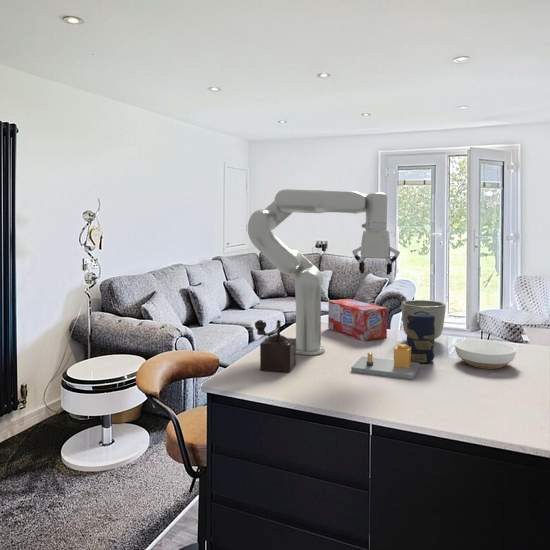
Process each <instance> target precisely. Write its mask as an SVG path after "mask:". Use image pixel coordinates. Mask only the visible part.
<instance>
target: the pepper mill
mask: <svg viewBox="0 0 550 550" xmlns="http://www.w3.org/2000/svg"><path fill="white" fill-rule="evenodd" d="M254 327H255V329H256V330H257V332H256V334H257V335H258V336H268V337H266V338H264V340H263V341H262V342H260V343H259V349H260V350H259V351H260V352H259V353H260V354H259V356H260V361H259V363H260V364H259V365H260V367H259V368H260V369H259V370H260V371H263V372H271V373H272V372H273V373H280V374H281V373H282V374H283V373H284V374H289V373H291V372H292V371H293V369H294V368H295V366H296V364H297V358H296V357H297V354H296V339H295V338H293V337H291V338H290V337H286V336H284V335H281V332H280V331H281V330H280V329H281V320H280V319H277V320H276V327H275V329H274V331H272V332H269V333H268V332H266V331H265V329H266V328H267V322H266V321H265V320H263V319H259V320H257V321H255V322H254Z"/></svg>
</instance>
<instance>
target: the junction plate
mask: <svg viewBox="0 0 550 550" xmlns="http://www.w3.org/2000/svg"><path fill="white" fill-rule="evenodd" d="M367 361H368V356H363V355H362V356H361V357H360V358H359V359H358V360H357V361H355V363H354V364H353V365H352V366H351V368H350V369H351V370H350V372H352V373H359V374H366V375H367V374H368V375H374V376H383V377H388V378H389V377H390V378H398V379H399V378H400V379H404V380H405V379H406V380H414V379H415V377H416V375H417V373H418V371H419V369H420V366H421V365H420V364H421V363H418V362H413V361H411V365H410V366H409V368H404V367H396V366H394V359H388V358H380V357H372V362H373V366H368V365H367Z"/></svg>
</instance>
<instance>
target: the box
mask: <svg viewBox="0 0 550 550" xmlns="http://www.w3.org/2000/svg"><path fill="white" fill-rule="evenodd" d="M327 313H328V314H327V315H328V316H327V317H328V318H327V319H328V321H327V322H328V323H327V327H328V329H329V330H331V331H334V332H337V333H339V334H341V335H342V334H343V335H345V336H348V337H351V338H353V339H355V340H359V341H361V342H364V341H365V342H366V341H371V340H379V339H387V337H388V330H387V329H388V308H387V307H384V306H379V305H376V304H372V303H368V302H364V301H360V300H356V299H352V298H344V299H335V300H334V299H332V300H331V299H330V300H328V312H327Z"/></svg>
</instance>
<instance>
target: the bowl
mask: <svg viewBox="0 0 550 550" xmlns="http://www.w3.org/2000/svg"><path fill="white" fill-rule="evenodd" d="M454 347H455V352H456V355H457V356H458V357H459V359H461V361H464V363H467V365H469V366H472V367H475V368H478V367H479V369H485V368H486V369H487V370H488V369H489V370H494V369H495V368H496V369H500V368H502V367H505V366H507V365H508V364H511V363H512V362H513V361H514V359H515V357H516V356H517V355H516V354H517V349H516V348H515V347H514V346H512V345H510V344H507V343H503V342H498V341H493V340H484V339H468V340H467V339H466V340H461V341H458V342H456V343H455V344H454Z"/></svg>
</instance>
